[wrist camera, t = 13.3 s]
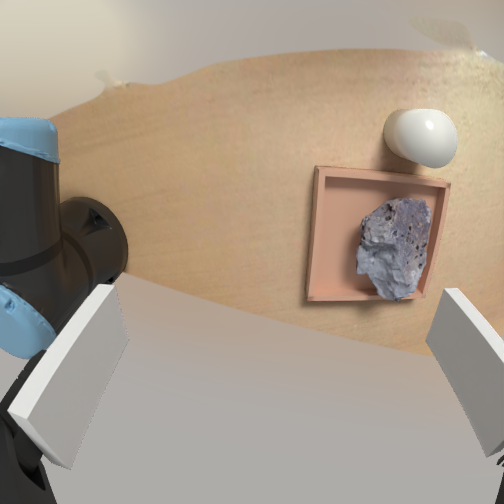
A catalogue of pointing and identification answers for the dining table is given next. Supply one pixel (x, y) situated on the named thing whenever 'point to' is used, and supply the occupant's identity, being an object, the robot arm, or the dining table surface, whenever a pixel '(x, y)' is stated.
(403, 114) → the white rounded cylinder
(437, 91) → the dining table surface
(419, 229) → the rock
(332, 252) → the dish
